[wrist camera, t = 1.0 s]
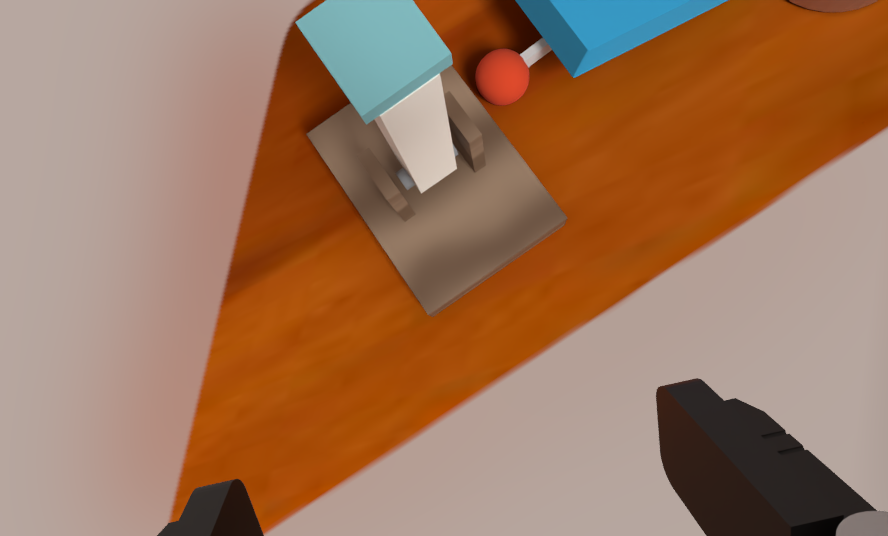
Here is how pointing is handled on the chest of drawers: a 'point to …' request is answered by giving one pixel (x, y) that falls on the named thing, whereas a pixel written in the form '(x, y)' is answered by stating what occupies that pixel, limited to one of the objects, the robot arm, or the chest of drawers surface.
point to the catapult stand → (443, 199)
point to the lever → (580, 37)
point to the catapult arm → (390, 78)
